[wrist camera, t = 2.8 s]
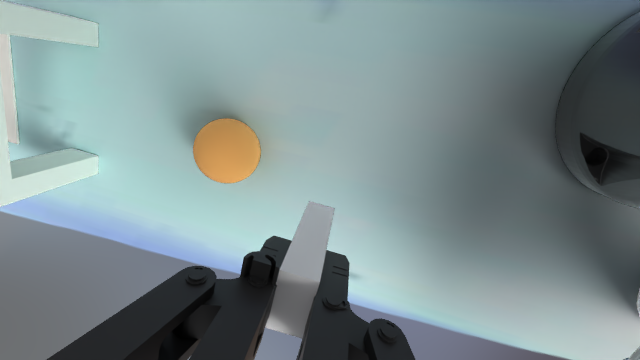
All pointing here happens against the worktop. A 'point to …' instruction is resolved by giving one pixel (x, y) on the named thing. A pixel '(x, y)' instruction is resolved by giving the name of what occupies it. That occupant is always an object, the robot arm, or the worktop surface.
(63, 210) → the worktop surface
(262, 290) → the robot arm
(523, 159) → the worktop surface
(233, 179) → the ball
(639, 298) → the supplement can
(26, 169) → the bridge
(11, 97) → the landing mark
